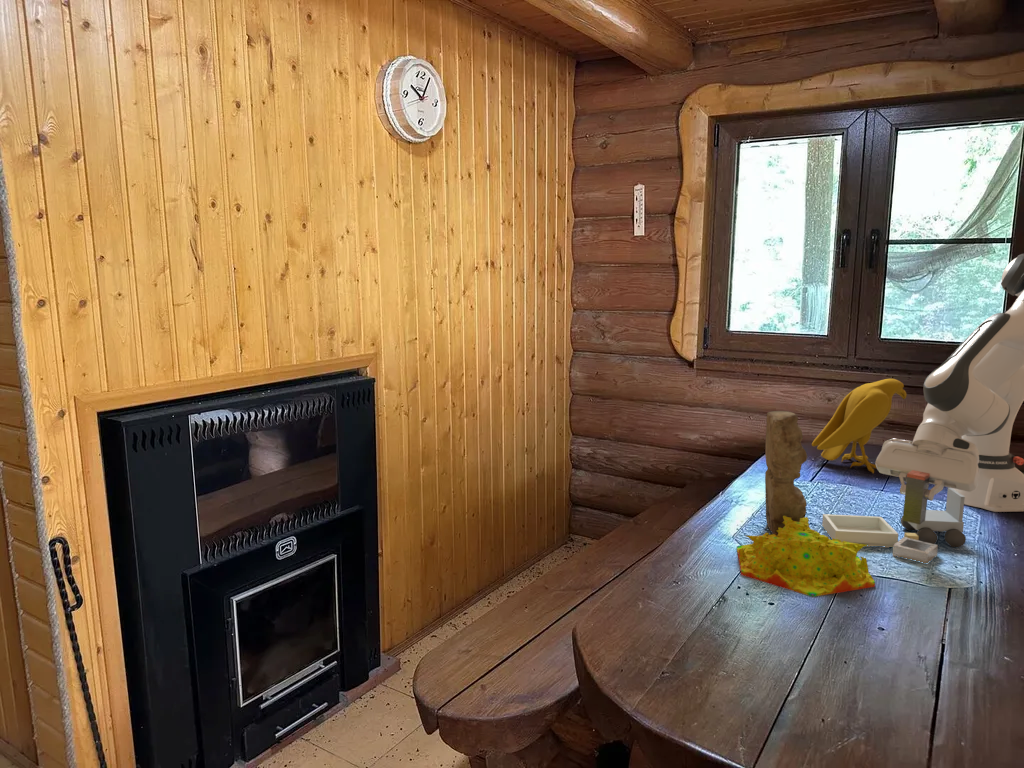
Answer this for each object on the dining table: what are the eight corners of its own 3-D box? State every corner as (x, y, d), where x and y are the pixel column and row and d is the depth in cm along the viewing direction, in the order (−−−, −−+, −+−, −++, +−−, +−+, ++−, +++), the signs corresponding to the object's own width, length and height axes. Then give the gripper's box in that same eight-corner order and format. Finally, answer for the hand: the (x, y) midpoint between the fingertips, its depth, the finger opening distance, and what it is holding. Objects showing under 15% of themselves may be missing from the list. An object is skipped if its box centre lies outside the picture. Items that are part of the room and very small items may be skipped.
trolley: (943, 530, 173) (947, 485, 171) (965, 548, 162) (969, 499, 160) (900, 528, 174) (903, 483, 173) (918, 545, 163) (922, 497, 162)
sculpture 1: (808, 542, 166) (815, 418, 161) (767, 540, 168) (773, 417, 163) (798, 524, 178) (804, 408, 173) (760, 522, 180) (765, 407, 175)
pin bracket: (903, 547, 163) (903, 536, 162) (936, 555, 158) (937, 545, 157) (892, 555, 158) (893, 545, 157) (926, 564, 153) (927, 553, 152)
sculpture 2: (908, 478, 221) (926, 385, 216) (824, 470, 221) (841, 377, 216) (876, 461, 241) (892, 375, 236) (799, 454, 241) (813, 368, 236)
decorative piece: (745, 555, 141) (735, 507, 169) (743, 592, 142) (734, 538, 171) (887, 567, 134) (852, 514, 163) (884, 605, 136) (850, 547, 164)
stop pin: (908, 516, 160) (912, 470, 158) (925, 520, 157) (929, 473, 155) (902, 520, 157) (907, 473, 155) (919, 524, 155) (924, 476, 153)
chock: (914, 542, 165) (915, 533, 165) (917, 546, 163) (918, 536, 163) (903, 542, 166) (904, 532, 165) (906, 545, 164) (907, 535, 163)
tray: (880, 529, 173) (881, 516, 173) (897, 547, 162) (898, 533, 162) (822, 527, 176) (822, 514, 175) (834, 544, 165) (835, 530, 164)
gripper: (883, 429, 166) (863, 478, 161) (984, 446, 151) (965, 500, 147) (888, 444, 170) (869, 492, 165) (987, 462, 155) (969, 514, 150)
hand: (915, 496), depth 156 cm, fingers closed on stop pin, 3 cm apart
